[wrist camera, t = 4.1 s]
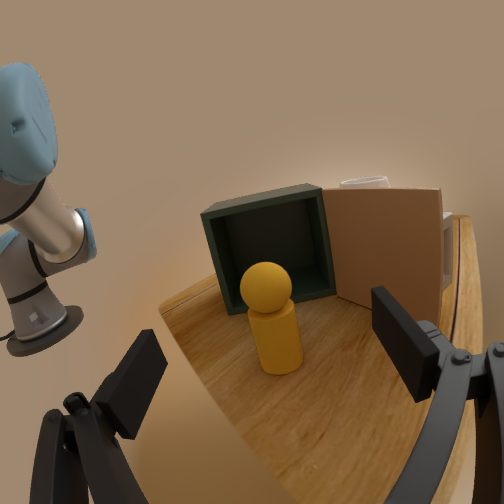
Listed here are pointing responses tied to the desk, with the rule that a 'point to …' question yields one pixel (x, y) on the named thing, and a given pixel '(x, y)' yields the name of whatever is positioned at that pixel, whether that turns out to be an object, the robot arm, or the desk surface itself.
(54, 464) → the robot arm
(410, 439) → the desk surface
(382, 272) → the cabinet door
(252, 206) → the cabinet
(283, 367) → the toy
